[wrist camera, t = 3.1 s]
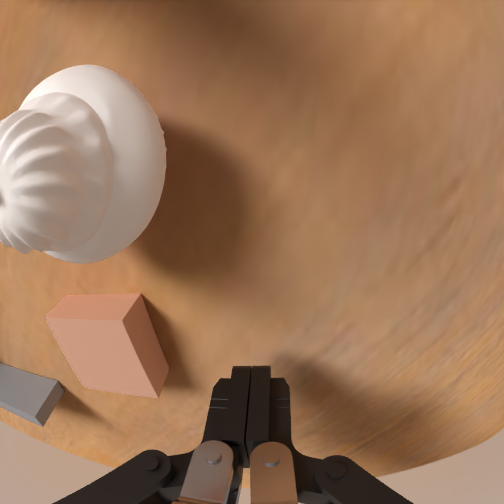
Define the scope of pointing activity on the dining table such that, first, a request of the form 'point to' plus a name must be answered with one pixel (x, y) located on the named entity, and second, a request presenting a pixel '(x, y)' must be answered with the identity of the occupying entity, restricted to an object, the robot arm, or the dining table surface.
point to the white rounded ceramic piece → (80, 166)
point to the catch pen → (28, 394)
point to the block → (110, 343)
